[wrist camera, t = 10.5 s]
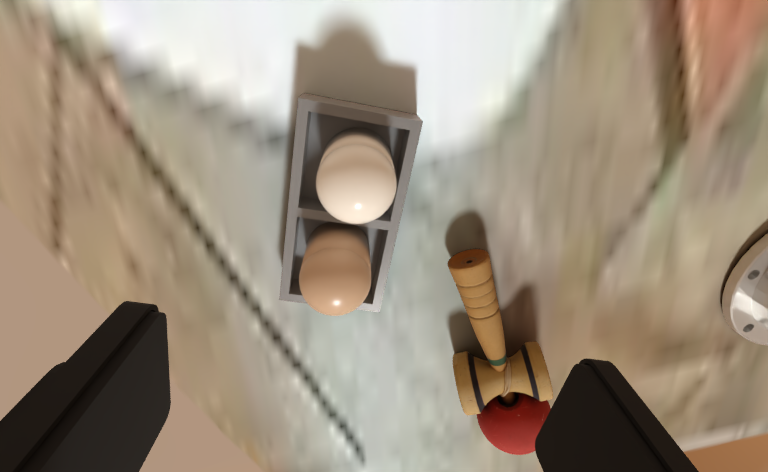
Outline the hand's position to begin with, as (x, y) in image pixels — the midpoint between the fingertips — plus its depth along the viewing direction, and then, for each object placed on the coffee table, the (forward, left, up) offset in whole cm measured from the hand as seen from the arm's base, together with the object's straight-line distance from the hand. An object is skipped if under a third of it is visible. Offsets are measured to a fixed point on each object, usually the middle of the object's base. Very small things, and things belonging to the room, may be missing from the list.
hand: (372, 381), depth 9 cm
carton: (+1, +3, -19) cm, 19 cm away
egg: (0, 0, -18) cm, 18 cm away
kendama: (-13, +13, -19) cm, 26 cm away
